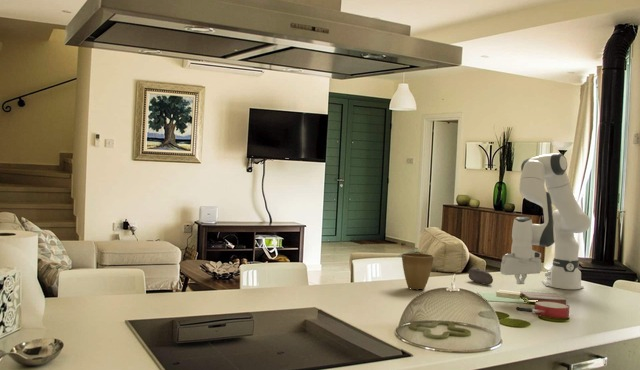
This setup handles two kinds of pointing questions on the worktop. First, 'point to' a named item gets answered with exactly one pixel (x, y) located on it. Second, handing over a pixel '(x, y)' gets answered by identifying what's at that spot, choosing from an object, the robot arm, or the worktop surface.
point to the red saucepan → (548, 309)
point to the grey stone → (480, 276)
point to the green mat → (499, 298)
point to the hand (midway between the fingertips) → (520, 284)
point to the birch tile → (508, 294)
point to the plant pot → (417, 269)
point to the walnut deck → (543, 297)
